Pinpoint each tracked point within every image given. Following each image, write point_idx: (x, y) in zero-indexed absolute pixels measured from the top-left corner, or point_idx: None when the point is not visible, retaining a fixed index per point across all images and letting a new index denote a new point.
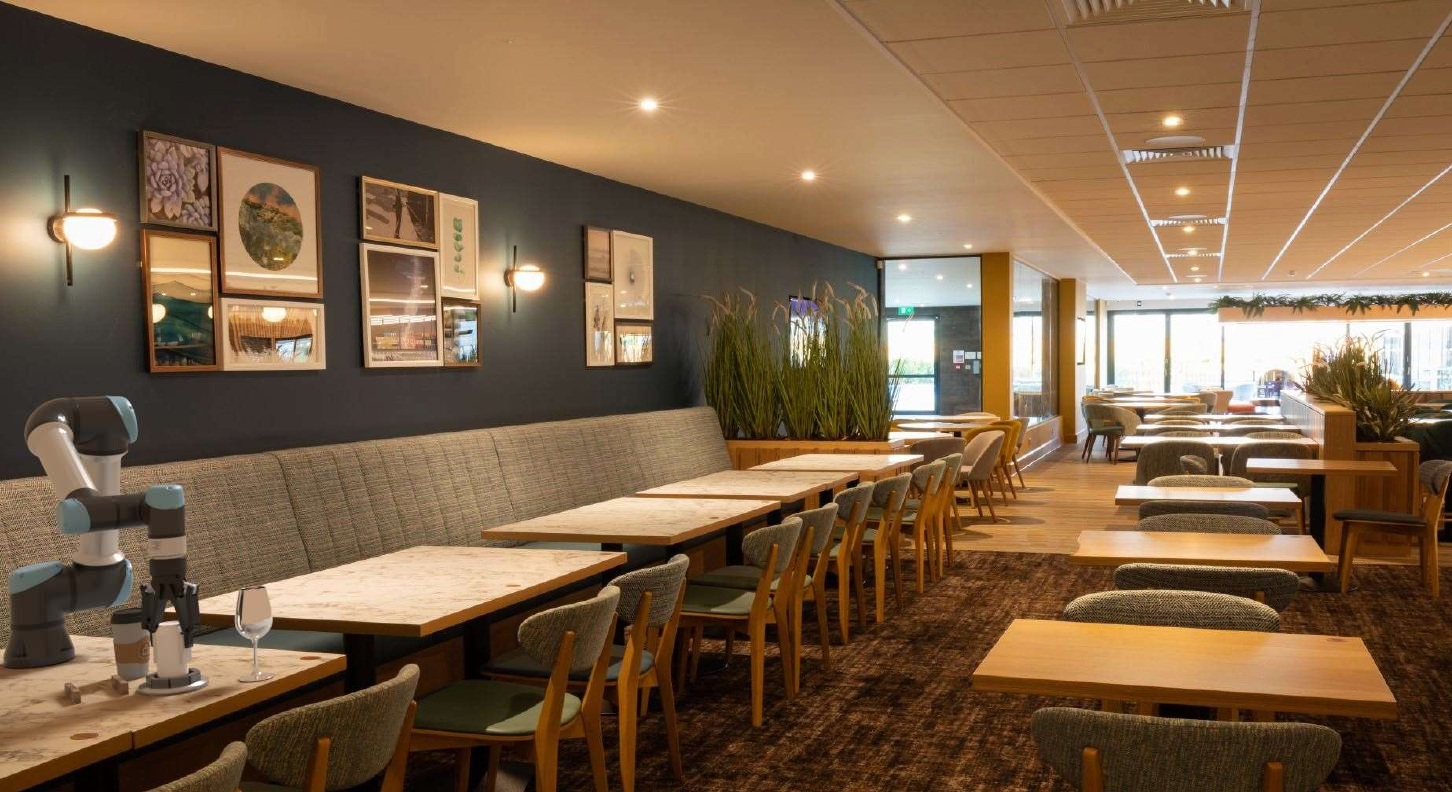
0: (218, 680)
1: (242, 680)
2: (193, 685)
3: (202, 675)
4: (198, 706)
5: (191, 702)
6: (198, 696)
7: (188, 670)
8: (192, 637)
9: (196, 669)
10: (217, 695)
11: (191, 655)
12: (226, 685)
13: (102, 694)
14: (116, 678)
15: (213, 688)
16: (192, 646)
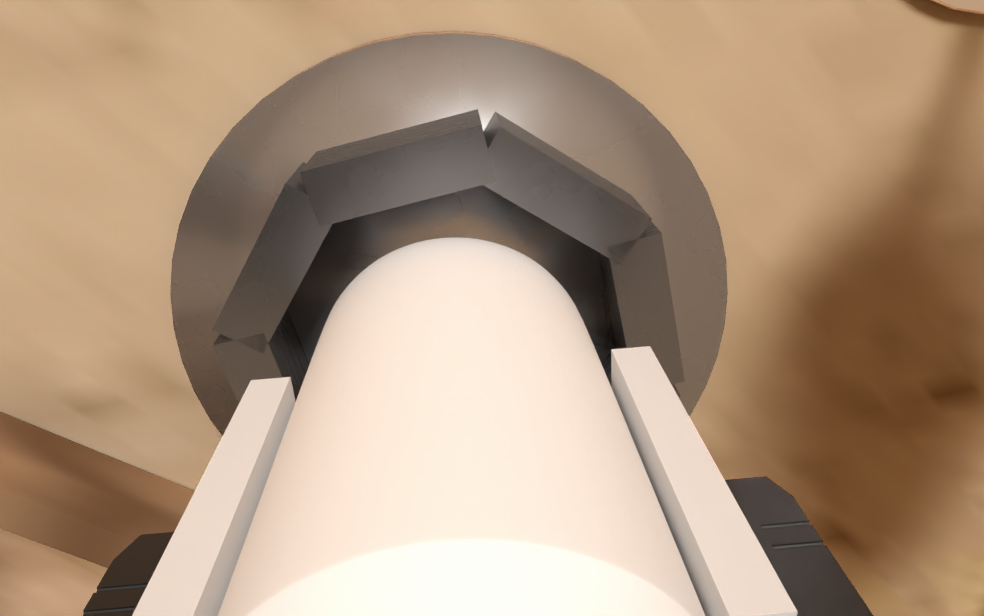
0: (684, 16)
1: (966, 8)
2: (694, 351)
3: (520, 46)
4: (970, 598)
5: (873, 553)
6: (833, 447)
7: (565, 292)
8: (842, 586)
9: (566, 182)
10: (961, 399)
11: (667, 380)
12: (872, 153)
13: (88, 566)
14: (18, 527)
15: (813, 257)
16: (771, 489)
